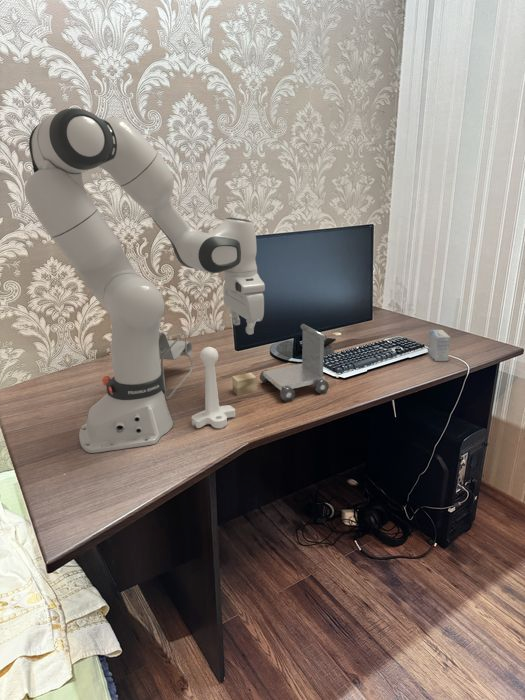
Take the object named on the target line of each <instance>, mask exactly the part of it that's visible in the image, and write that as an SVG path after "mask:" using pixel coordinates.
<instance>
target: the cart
mask: <svg viewBox="0 0 525 700" xmlns="http://www.w3.org/2000/svg"><path fill="white" fill-rule="evenodd" d="M299 328H300V329H301V330H302V342H301V344H302V349H301V351H302V353H301V363H296V364H293V365H288V366H283V367H278V368H273V369H265V370H263V371H261V372H260V374H259V380H260V382H261V383H263V384H264V385H270V384H272V385H273V386H274V387H276V388H277V389H278V390H279V391H280V392H279V397H280V399H281V400H282V401H283V402H285V403H290V402H292V401H293V400H294V398H295V397H296V391H295V390H294V389H298V388H302V387H305V386H306V387H307V386H312V385H313V389H314V391H315V392H316V393H318V394H320V395H323V394H326V392H327V391H328V390H329V387H330V385H329V383H328V381H326V377H325V376H324V357H325V354H324V353H325V346H324V341H325V340H326V339H327V338H328V337H327V335H325V334H324V333H322V332H320V331H318V330H316V329H314V328H312V327H310V326H308V325H306V324H305V323H301V325H300V327H299Z"/></svg>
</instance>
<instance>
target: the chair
mask: <svg viewBox="0 0 525 700" xmlns="http://www.w3.org/2000/svg"><path fill="white" fill-rule="evenodd" d="M182 336H184V341H183V340H180V339H181V338H182ZM192 350H193V345H192V342H191V341H189V340H187V334H186V332H181V334H179V336H178V337H177V338H176V339H175V340H171V339H169V340H168V337H167V335H166V333H164V332H159V355H160V366H161V371H162V373H163V376H164V377H165V371H164V360H166V361H167V360H168V361H171V360H172V361H177V359H179V357H180V356H183V357H184V356H185V357H186V356H187V358H188V359H189V361H190V364H191V367H190V371H189V372H188V373H187V374H186V375H185V377H183V379H182V380H181V381H180V382H179V383H178V384H177V386H176V387H175V388H174V389H173V390H172V392H171V393H170V394H169V395H168V396H167V387H166V386H165V394H164V395H165V400H166V401H168V400H169V399H170V398H171V397H172V396H173V394H175V392H176V391H177V390H178V389H179V388H180V386H181V385H182V384H183V383H184V382H185V380H186V379H187V378H188V377H189V376H190V375H191V374H192V372H193V370H194V361H193V359H192V357H191V354H192V352H193V351H192ZM188 375H189V376H188ZM187 376H188V377H187ZM165 379H166V378H164V381H165ZM183 381H184V382H183ZM165 382H166V381H165ZM182 382H183V383H182ZM181 383H182V384H181ZM180 384H181V385H180ZM177 388H178V389H177ZM176 389H177V390H176ZM175 390H176V391H175ZM171 395H172V396H171Z"/></svg>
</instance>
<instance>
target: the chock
mask: <svg viewBox="0 0 525 700" xmlns="http://www.w3.org/2000/svg"><path fill="white" fill-rule="evenodd" d="M231 379H232V382H231V383H232V384H231V385H232V391H233V392H234V393H235V394H236V395H237V396H241V395H245V394H250V393H251V394H252V393H254V392H257V391H258V387H257V386H258V385H257V384H258V383H257V381H258V380H257V376H255V375H254V374H253V373H252V372H247V373H242V374H237V375H233V376H231Z"/></svg>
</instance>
